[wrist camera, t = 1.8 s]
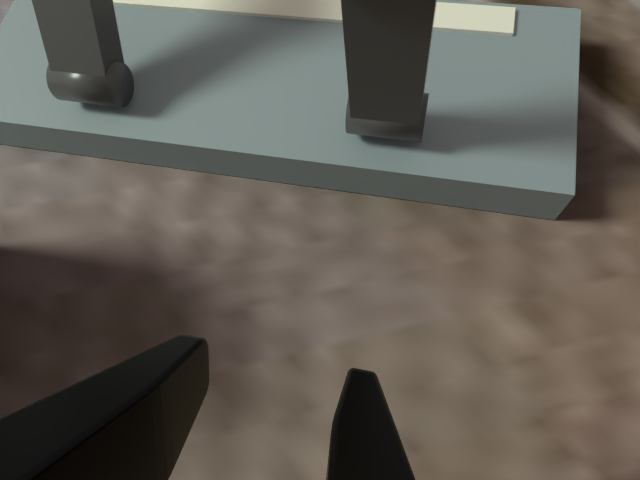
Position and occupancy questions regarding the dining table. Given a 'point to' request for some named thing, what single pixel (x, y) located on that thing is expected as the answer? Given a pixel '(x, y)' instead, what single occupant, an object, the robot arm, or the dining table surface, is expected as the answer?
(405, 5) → the lever
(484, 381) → the dining table surface
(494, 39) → the switch panel
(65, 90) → the on lever
